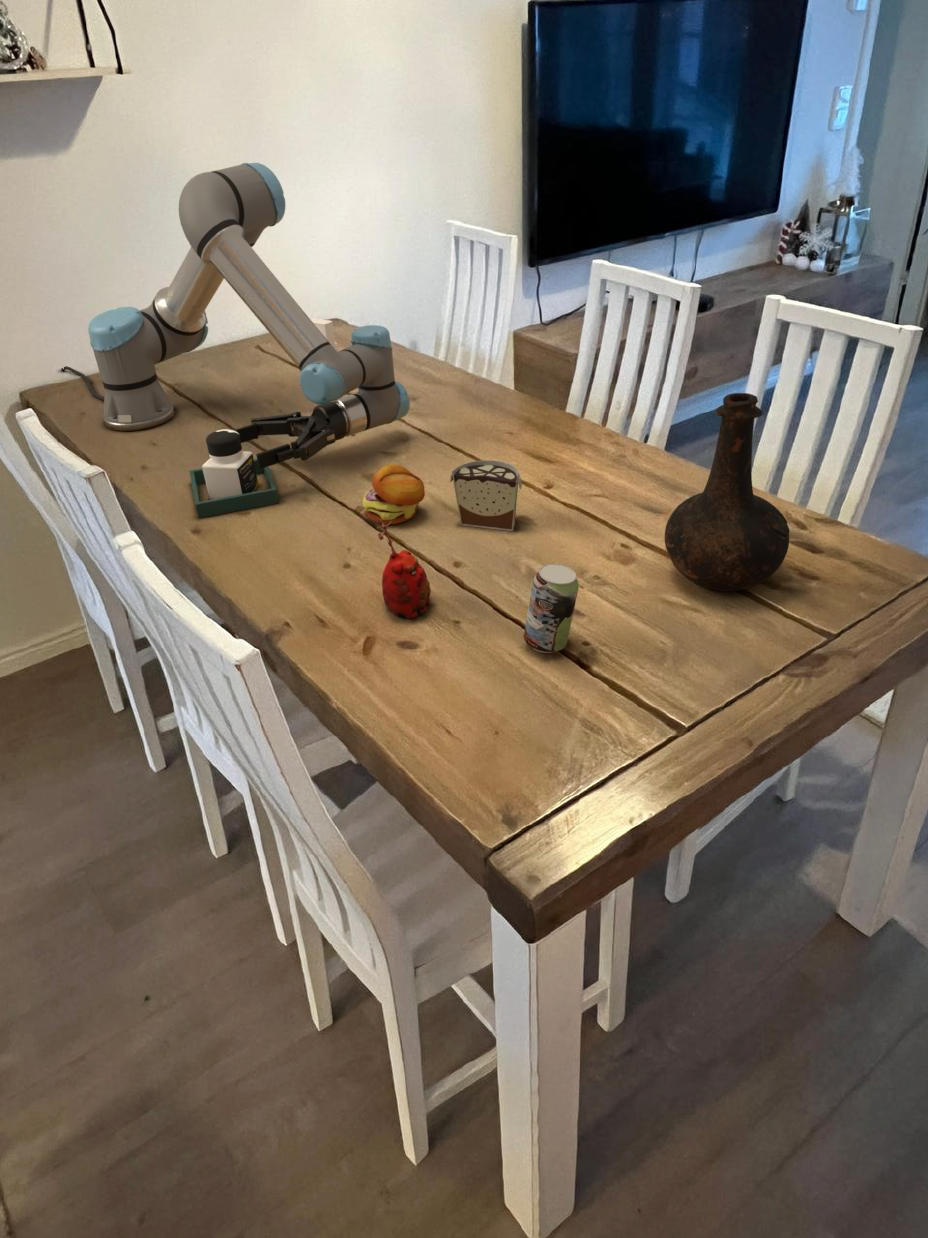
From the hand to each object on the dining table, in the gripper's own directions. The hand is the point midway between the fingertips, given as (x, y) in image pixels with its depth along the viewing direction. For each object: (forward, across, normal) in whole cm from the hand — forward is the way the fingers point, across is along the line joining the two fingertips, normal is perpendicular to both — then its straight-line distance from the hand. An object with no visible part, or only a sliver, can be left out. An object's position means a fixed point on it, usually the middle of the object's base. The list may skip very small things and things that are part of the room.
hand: (241, 450), depth 168 cm
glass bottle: (-39, -80, -8) cm, 90 cm away
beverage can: (-7, -76, -8) cm, 77 cm away
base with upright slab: (-46, +50, -8) cm, 69 cm away
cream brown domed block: (-25, -42, -8) cm, 50 cm away
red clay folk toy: (+2, -55, -8) cm, 55 cm away
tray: (+3, 0, -8) cm, 8 cm away
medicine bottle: (+3, 0, -8) cm, 8 cm away
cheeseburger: (-14, -29, -8) cm, 33 cm away
